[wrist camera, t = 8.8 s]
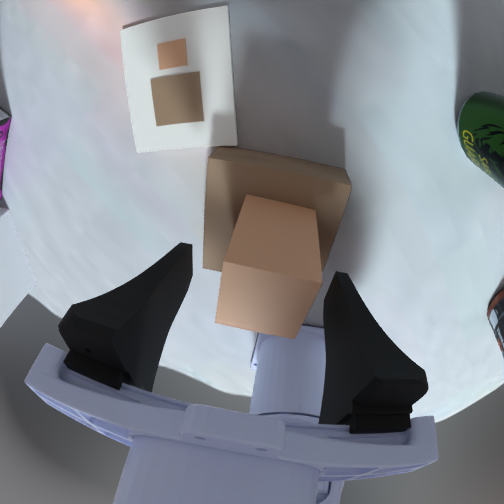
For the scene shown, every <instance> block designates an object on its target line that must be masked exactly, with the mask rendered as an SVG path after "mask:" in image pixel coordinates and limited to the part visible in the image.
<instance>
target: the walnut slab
mask: <svg viewBox="0 0 504 504" xmlns="http://www.w3.org/2000/svg"><path fill="white" fill-rule="evenodd" d="M351 188H352V184H351V182H350V179H349V177H348V175H347V172H346V170H345V169H341V168H337V167H333V166H328V165H324V164H320V163H315V162H311V161H306V160H301V159H297V158H292V157H287V156H282V155H276V154H271V153H265V152H259V151H253V150H247V149H241V148H234V147H227V146H219V147H218V148H217V149H216V150H215V151H214V152H213V153H212V154H211V155H210V156H209V157H208V165H207V180H206V197H205V217H204V242H203V268H205V269H210V270H215V271H220V272H222V268H223V261H224V258H225V255H226V252H227V249H228V246H229V243H230V240H231V237H232V235H233V232H234V229H235V226H236V223H237V220H238V217H239V214H240V211H241V208H242V205H243V203H244V200H245V197H246V194H248V195H253V196H257V197H262V198H266V199H271V200H275V201H280V202H284V203H288V204H292V205H297V206H301V207H305V208H309V209H313V210H315V211H316V219H317V228H318V238H319V248H320V259H321V271H322V272H323V269H324V266H325V264H326V261H327V258H328V256H329V253H330V250H331V247H332V245H333V242H334V239H335V236H336V233H337V230H338V228H339V225H340V222H341V219H342V216H343V213H344V210H345V207H346V204H347V201H348V198H349V194H350V191H351Z"/></svg>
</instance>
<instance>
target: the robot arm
mask: <svg viewBox="0 0 504 504" xmlns="http://www.w3.org/2000/svg"><path fill="white" fill-rule="evenodd" d="M192 276H193V263H192V244H187V243H179V244H178V245H177V246H176V247H174V248H173V249H172V250H171V251H170V252H168V253H167V254H166V255H165V256H164V257H162V258H161V259H160V260H159V261H157V262H156V263H155V264H153V265H152V266H151V267H149V268H148V269H147V270H145V271H144V272H143V273H141V274H140V275H138V276H137V277H135V278H134V279H132V280H130V281H129V282H127V283H125V284H123V285H121V286H119V287H117V288H115V289H113V290H112V291H110V292H107V293H105V294H103V295H100V296H98V297H95V298H92V299H90V300H87V301H83V302H80V303H77V304H73V305H72V306H71V307H70V308H69V310H68V311H67V313H66V314H65V316H64V317H63V319H62V321H61V322H60V324H59V326H58V327H59V332H60V334H61V336H62V337H63V339H64V341H65V342H66V344H67V346H68V347H69V349H70V351H69V353H68V354H66V353H65V352H64V351H62V350H60V349H58V348H56V347H54V346H52V345H50V344H48V343H46V344H45V345H44V347H43V349H42V350H41V352H40V354H39V355H38V357H37V359H36V361H35V362H34V364H33V366H32V368H31V369H30V371H29V373H28V375H27V377H26V379H25V383H26V384H27V385H28V386H29V387H30V388H31V389H32V390H33V391H34V392H35V393H36V394H37V395H38V396H39V397H40V398H42V399H43V400H44V401H45V402H46V403H47V404H49V405H50V406H52V407H54V408H55V409H57V410H59V411H61V412H62V413H64V414H66V415H68V416H69V417H71V418H73V419H75V420H76V421H78V422H80V423H82V424H84V425H86V426H88V427H90V428H91V429H93V430H96V431H97V432H99V433H101V434H103V435H105V436H108V437H110V438H112V439H114V440H116V441H118V442H121V443H123V444H125V445H128V446H130V447H131V448H130V451H129V454H128V457H127V460H126V463H125V466H124V469H123V472H122V475H121V478H120V482H119V485H118V488H117V492H116V495H115V498H114V502H113V504H340V497H341V490H342V489H343V486H344V481H345V480H356V479H366V478H374V477H380V476H388V475H395V474H401V473H407V472H410V471H413V470H416V469H418V468H421V467H423V466H426V465H428V464H431V463H433V462H435V461H437V460H438V459H439V458H438V447H437V437H436V429H435V422H434V416H423V417H415V418H412V419H410V413H412V411H413V410H412V405H413V404H414V403H415V402H417V401H418V400H419V399H420V398H422V397H423V396H424V395H425V394H426V392H427V391H428V382H427V377H426V373H425V370H424V369H422V368H421V367H420V366H418V365H417V364H416V363H415V362H413V361H412V360H411V359H410V358H409V357H408V356H407V355H406V354H404V353H403V352H402V351H401V350H400V349H399V348H398V347H397V346H396V345H395V343H394V342H393V341H392V340H391V339H390V338H389V337H388V336H387V335H386V333H385V332H384V331H383V329H382V328H381V327H380V326H379V324H378V323H377V322H376V320H375V319H374V317H373V316H372V314H371V313H370V311H369V310H368V308H367V307H366V305H365V303H364V302H363V300H362V298H361V297H360V295H359V293H358V292H357V290H356V288H355V286H354V284H353V283H352V281H351V279H350V277H349V276H348V274H347V273H342V272H337V271H336V272H335V275H334V277H333V280H332V282H331V284H330V287H329V289H328V292H327V294H326V296H325V299H324V310H323V322H324V328H317V327H310V326H304V325H302V326H301V328H300V330H299V332H298V334H297V336H296V338H295V339H290V338H285V337H279V336H274V335H269V334H264V333H259V335H258V339H257V343H256V347H255V351H254V355H253V359H252V363H251V367H250V368H251V369H252V370H255V371H256V375H255V382H254V388H253V394H252V400H251V407H250V412H249V413H243V412H238V411H232V410H227V409H222V408H218V407H213V406H208V405H201V404H196V405H194V404H190V403H186V402H183V401H179V400H175V399H172V398H168V397H165V396H161V395H158V394H155V393H152V388H153V384H154V379H155V376H156V372H157V368H158V364H159V361H160V357H161V354H162V351H163V347H164V344H165V341H166V338H167V335H168V332H169V330H170V327H171V325H172V323H173V321H174V318H175V316H176V314H177V312H178V310H179V308H180V306H181V304H182V302H183V300H184V297H185V295H186V293H187V291H188V288H189V285H190V282H191V279H192Z"/></svg>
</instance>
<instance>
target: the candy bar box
mask: <svg viewBox="0 0 504 504" xmlns="http://www.w3.org/2000/svg"><path fill="white" fill-rule="evenodd" d="M10 121H11V116H10V115H9V114H8V113H7V112H5V111H4V110H2V109H1V108H0V200H1V194H2V177H3V166H4V157H5V149H6V143H7V137H8V131H9V126H10Z"/></svg>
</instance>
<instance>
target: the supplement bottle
mask: <svg viewBox="0 0 504 504" xmlns="http://www.w3.org/2000/svg"><path fill="white" fill-rule="evenodd" d="M487 317H488V320H489V323H490V325H491V327H492V329H493V331H494V334H495V337H496V339H497V341H498V344H499V346H500V349H501V352H502V354H503V357H504V289H503V290H502V291H500V292H499V293H498V294H497V296H496V297H495V298H494V299H493V300H492V302H491V304H490V306H489V308H488V312H487Z"/></svg>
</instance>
